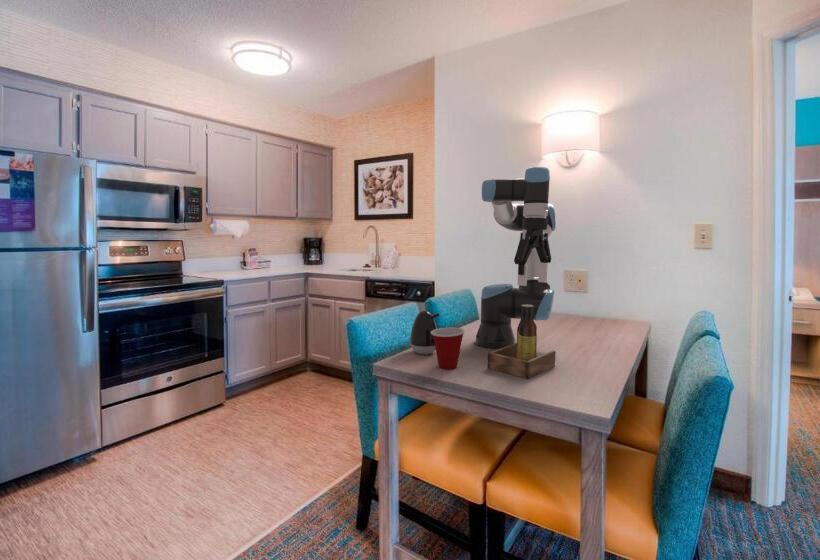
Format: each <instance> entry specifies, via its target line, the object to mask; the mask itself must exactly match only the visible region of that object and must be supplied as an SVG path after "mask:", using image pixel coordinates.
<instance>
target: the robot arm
mask: <svg viewBox="0 0 820 560" xmlns="http://www.w3.org/2000/svg"><path fill="white" fill-rule="evenodd" d="M550 180H551V175H550V169H549V168H548V167H545V166H532V167H528V168H527V169H526V170H525V173H524V178H509V179H506V178H505V179H503V178H502V179H500V178H499V179H493V178H492V179H486V180H484V181H482V184H481V200H482V201H483V202H485V203H486V202H488V203H491V204H492V208H493V217H494V220H495V221H496V223H497V224H498V225H499V226H501V227H503V229H504V228H505V229H507V230H509V231H514V232H516V231H517V232H520V236H519V241H518V245H517V248H516V253H515V256H514V259H513V262H514V264H515V265H518V266H517V286H518V288H517V287H514V286H513V284H511V283H498V284H497V283H496V284H490V285H486V286H484V287H482V289H481V296H480V302H481V303H480V324H479V327H478V329H477V332H476V335H475V341H474V342H475V344H476V346H477V345H478V346H480V347H482V348H489V349H496V350H498V349H501V348H504V347H507V346H510V345H512V344H515V343H516V338H515V333H514V331H513V328H512V319H516V320H521V312H522V310H521V305H525V304H528V305H534V311H533V320H534V321H547V320H549V319H550V318H551V316H552V315H551V314H552V309H553V302H554V296H555V290H553V289H552V288H551V285H550V284H549V282H547V281H548V264H551V261H552V255H551V254H552V253H551V249H550V244H549V243H550V242H549V237H550V236H551V234H552V232H554V231H556V225H557V224H556V212H555V207H554V205H553V204H551V203H549V195H550V194H549V193H550ZM514 202H523V203H514Z"/></svg>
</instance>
